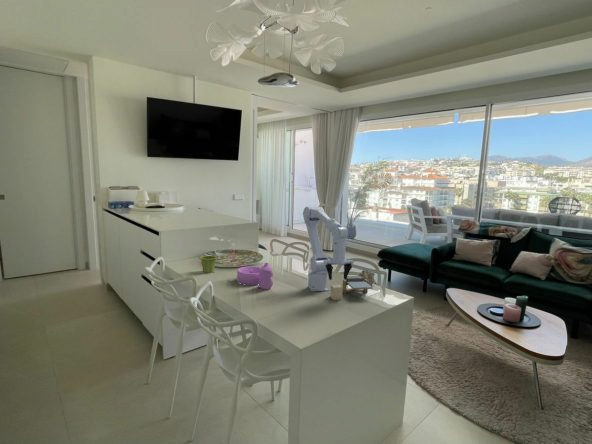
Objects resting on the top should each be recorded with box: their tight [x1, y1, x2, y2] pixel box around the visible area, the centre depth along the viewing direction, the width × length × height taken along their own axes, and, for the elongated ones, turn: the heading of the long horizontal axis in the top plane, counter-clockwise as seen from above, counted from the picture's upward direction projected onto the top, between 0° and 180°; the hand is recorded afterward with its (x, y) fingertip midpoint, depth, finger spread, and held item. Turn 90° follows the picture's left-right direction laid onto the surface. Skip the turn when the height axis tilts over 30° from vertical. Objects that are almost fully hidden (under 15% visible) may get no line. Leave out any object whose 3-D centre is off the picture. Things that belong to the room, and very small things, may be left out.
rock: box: [357, 269, 375, 287], centre depth 179 cm, size 12×7×10 cm, turn 122°
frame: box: [341, 279, 369, 294], centre depth 168 cm, size 13×5×7 cm, turn 101°
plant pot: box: [199, 255, 218, 274], centre depth 192 cm, size 9×9×9 cm
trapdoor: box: [343, 275, 373, 290], centre depth 164 cm, size 10×14×4 cm
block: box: [329, 284, 343, 301], centre depth 158 cm, size 4×4×6 cm
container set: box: [236, 262, 274, 290], centre depth 174 cm, size 25×15×13 cm, turn 41°
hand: (337, 279), depth 157 cm, fingers open, 7 cm apart
